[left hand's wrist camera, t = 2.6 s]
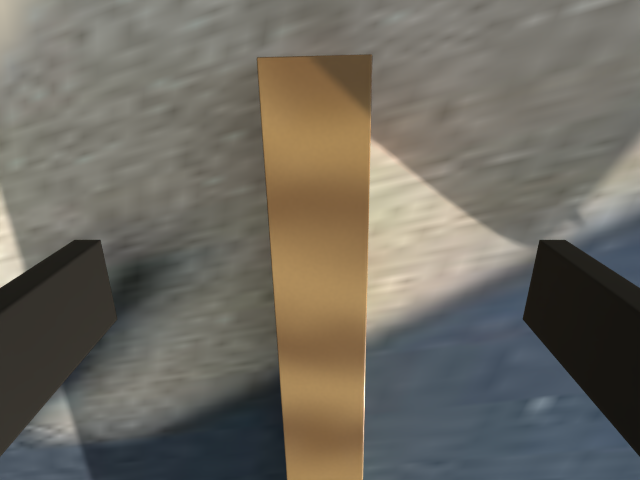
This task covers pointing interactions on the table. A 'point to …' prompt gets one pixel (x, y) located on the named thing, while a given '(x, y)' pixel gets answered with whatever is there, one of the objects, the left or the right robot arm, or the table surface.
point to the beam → (319, 253)
